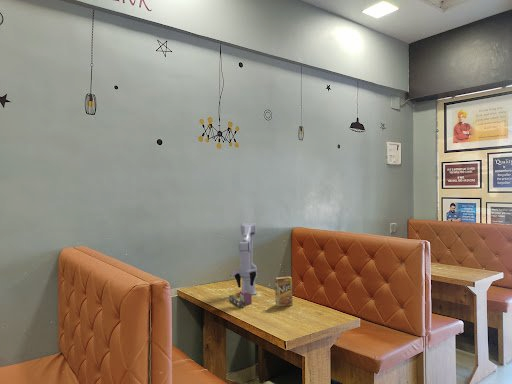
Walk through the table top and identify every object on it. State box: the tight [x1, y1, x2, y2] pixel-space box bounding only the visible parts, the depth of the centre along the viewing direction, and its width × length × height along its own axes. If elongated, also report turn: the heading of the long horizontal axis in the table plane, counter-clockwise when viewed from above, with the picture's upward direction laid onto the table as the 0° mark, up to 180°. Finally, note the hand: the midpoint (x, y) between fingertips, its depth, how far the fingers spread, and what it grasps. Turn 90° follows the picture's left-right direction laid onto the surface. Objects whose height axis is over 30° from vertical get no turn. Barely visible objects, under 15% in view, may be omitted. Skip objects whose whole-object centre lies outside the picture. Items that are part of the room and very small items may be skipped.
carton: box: [239, 290, 253, 306], centre depth 206 cm, size 4×8×6 cm, turn 24°
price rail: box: [229, 295, 244, 309], centre depth 205 cm, size 18×2×2 cm, turn 24°
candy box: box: [274, 275, 294, 307], centre depth 200 cm, size 9×4×15 cm, turn 107°
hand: (245, 286), depth 206 cm, fingers open, 7 cm apart
